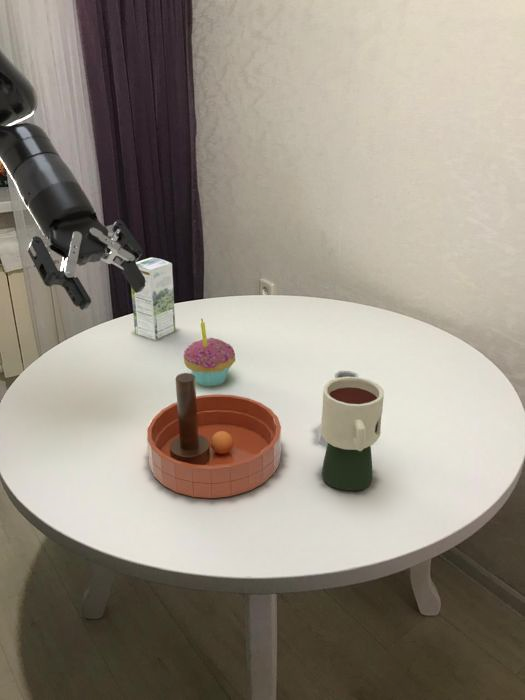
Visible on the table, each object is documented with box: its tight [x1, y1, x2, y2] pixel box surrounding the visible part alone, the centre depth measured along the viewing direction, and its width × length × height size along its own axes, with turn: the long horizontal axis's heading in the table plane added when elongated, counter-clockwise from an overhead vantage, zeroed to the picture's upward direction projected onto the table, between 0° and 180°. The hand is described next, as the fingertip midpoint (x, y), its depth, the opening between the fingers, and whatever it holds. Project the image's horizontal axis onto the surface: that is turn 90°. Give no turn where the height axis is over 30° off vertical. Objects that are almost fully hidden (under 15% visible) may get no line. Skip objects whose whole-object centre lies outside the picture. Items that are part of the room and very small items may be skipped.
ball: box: [211, 431, 233, 454], centre depth 78 cm, size 3×3×3 cm
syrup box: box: [130, 257, 176, 341], centre depth 112 cm, size 6×6×14 cm
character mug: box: [321, 376, 385, 491], centre depth 72 cm, size 11×7×13 cm, turn 4°
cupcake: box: [183, 317, 236, 387], centre depth 96 cm, size 9×8×12 cm
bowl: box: [146, 393, 282, 499], centre depth 77 cm, size 17×17×5 cm
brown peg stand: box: [170, 372, 210, 465], centre depth 75 cm, size 5×5×12 cm
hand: (115, 297), depth 77 cm, fingers open, 8 cm apart
